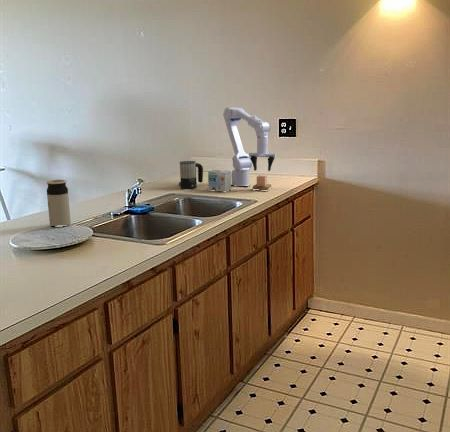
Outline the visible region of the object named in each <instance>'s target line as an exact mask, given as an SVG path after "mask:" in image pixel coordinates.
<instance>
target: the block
mask: <svg viewBox="0 0 450 432" xmlns="http://www.w3.org/2000/svg"><path fill="white" fill-rule="evenodd" d="M256 184H257V186H266V185H267V184H268V175H257V176H256Z"/></svg>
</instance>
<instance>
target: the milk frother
mask: <svg viewBox="0 0 450 432" xmlns="http://www.w3.org/2000/svg"><path fill="white" fill-rule="evenodd" d="M178 163H179V175H180V181H179V182H178V185H179V186H180V190H184V189H191V190H195V189H194V188H196V189H197V187H198V186H197V182H198V183H203V180H204V178H203V177H204V168H203V165H202V164H201V163H199V162H196V160H184V161H183V160H182V161H179V162H178Z"/></svg>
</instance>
